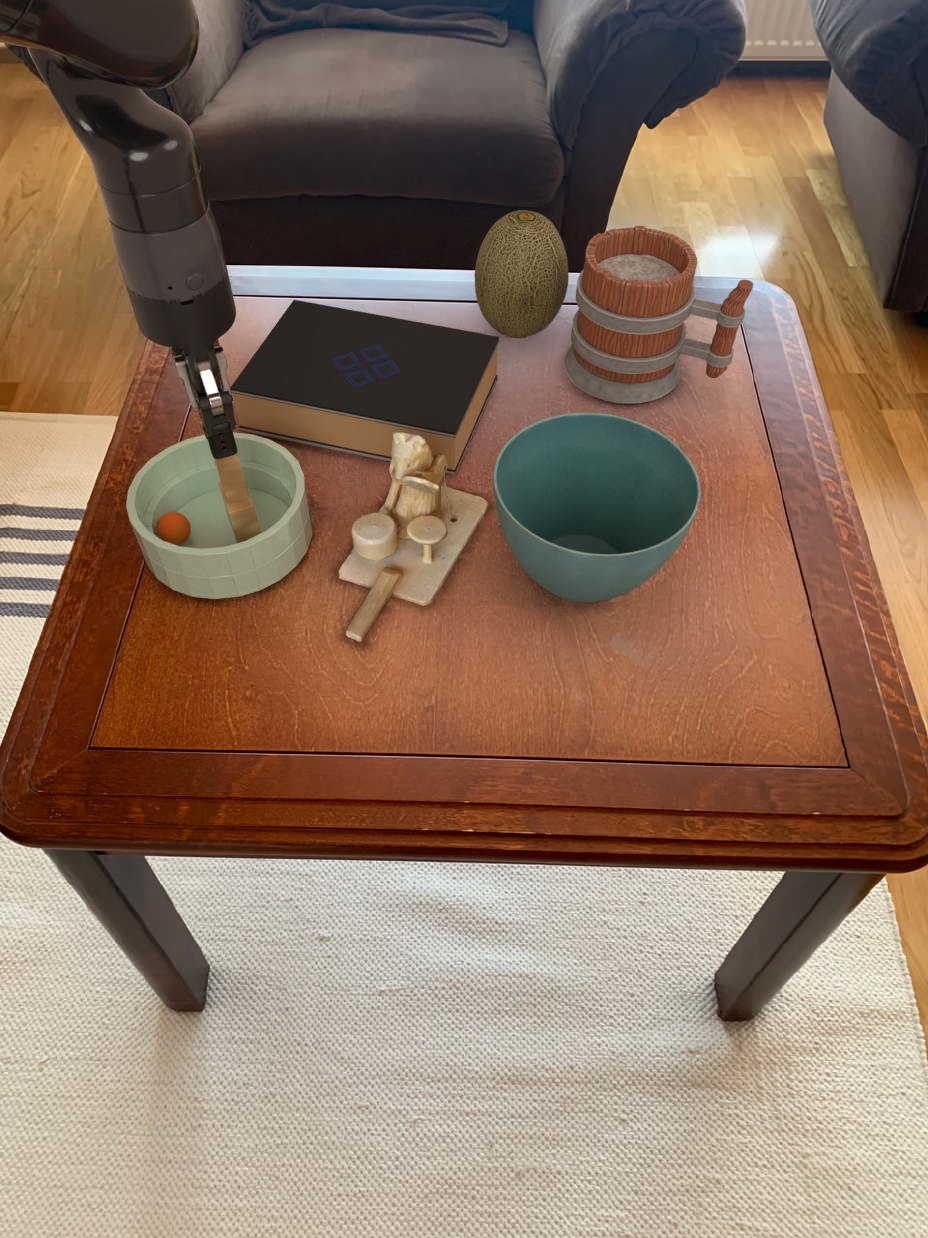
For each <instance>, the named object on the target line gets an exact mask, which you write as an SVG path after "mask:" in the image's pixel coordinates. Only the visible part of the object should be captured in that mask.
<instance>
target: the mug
mask: <svg viewBox="0 0 928 1238" xmlns="http://www.w3.org/2000/svg"><path fill="white" fill-rule="evenodd" d="M697 267H698V256H697V255H696V252H695V251H694V249H693V248H692V247H691V246H690V244H688V243H687V242H686V241H685V240H684V239H683V238H681V237H679V236H678V235H675V234H673V233H670V232H666V231H662V230H659V229H655V228H648V227H646V225H639V224H638V225H636V224H635V225H634V226H633V227H632V226H631V227H621V228H615V227H614V228H611V229H606V230H605V232H603V233H600V232H598V233H597V234H595V235H594V236H592V237H591V239H589V241H588V244H587V247H586V249H585V257H584V265H583V269H582V270H581V271H580V273H579V275H578V276H577V279H576V289H575V302H576V306H577V307H578V309H577V311H576V312H575V313H574V316H573V318H572V324H571V330H570V331H571V332H570V340H571V343H572V345H570V347H569V348H568V350H567V351H566V353H565V356H564V359H563V368H564V370H565V374H566V375H567V377H568V378H569V381H571V382H572V383H573V385H574V386H576V387H577V388H578V389H579V390H581V391H582V392H583V393H585V394H586V395H589V396H590V397H593V398H595V399H597V400H600V401H603V402H605V403H610V404H616V405H640V404H645V403H650V402H652V401H655V400H658V399H660V398H663V397H664V396H666V395H667V394H669V393H671V392H672V391H673V390H674V389H675V388H676V387H677V385H678V384H679V382H680V381H681V377H682V365H681V363H680V360H679V358H680V357H681V355H683V356H687V357H691V358H695V359H699V360H703V361H706V368H705V374H706V377H708V378H711V379H717V378H719V377H720V376H722V375H723V374H724V373H725V372H726V371H727V370H728V367H730V366H731V364H732V362H733V359H734V348H733V346H734V343H735V341H736V337H737V332H738V330H739V328H740V326H741V325H742V324H743V323H744V318H745V316H746V309H745V307H744V306H745V303H746V301H747V299H748V298H749V296H750V294H751V292H752V290H753V289H754V283H753V282H752V281H751V280H749V279H745V278H744V279H740V280H739V281H738V282H737V285H736V287H734V288H733V289H732V290H731V291H730V292H729V293H728V296H727V297H726V298H724V300H723V301H722V303H719V302H714V301H711V300H705V299H700V298H697V297H696V295H697V294H696V293H697V292H696V291H697V290H696V285H695V284H694V281H695V275H696V270H697ZM690 316H695V317H699V318H705V319H707V320H713V321H716V326H715V331H714V334H713V337H712V340H711V343H708V342H704V341H700V340H696V339H692V338H688V337H687V326H686V323H685V322H686V321H687V320H688V319H689V318H690Z"/></svg>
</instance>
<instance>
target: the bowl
mask: <svg viewBox="0 0 928 1238" xmlns="http://www.w3.org/2000/svg"><path fill="white" fill-rule="evenodd" d="M233 434H234V438H235V442H236V446H237V453H238V457H239V461H240V465H241V469H242V473H243V477H244V481H245V483H246V486H247V488H248V491H249V493H250V496H251V499H252V501H253V504H254V506H255V510H256V514H257V518H258V522H259V526H260V530H261V534H259V535H257V536H255V537H253V538H251V539H249V540H247V541H244V542H240V543H237V541H236V538H235V536H234V533H233V530H232V527H231V524H230V522H229V519H228V515H227V512H226V509H225V505H224V502H223V498H222V495H221V491H220V488H219V484H218V482H221V481H220V478H219V474H218V471H217V467H216V464H215V460H214V458H213V456H212V453H211V450H210V447H209V443H208V440H207V439H206V437H205V434H201V435H198V436H194V437H190V438H189V437H188V438H186V439H184V440H182V441H179V442H177V443H174V444H173V445H170V446H168V447H165V449H163V450H162V451H160V452H158V453H157V454H155V455H154V456H153V457H151V458H150V459H149V460H147V462H146V463H145V464H144V465H143V466H142V467H141V468H140V469H139V470H138V471H137V472H136V474H135V475H134V477H133V480H132V481H131V483H130V485H129V487H128V490H127V494H126V495H127V496H126V504H125V508H126V512H127V515H128V519H129V522H130V525H131V527H132V530H133V533H134V536H135V538H136V540H137V542H138V545H139V548H140V550H141V553H142V556H143V558H144V561H145V563H146V566H147V567H148V568H149V570H150V572H152V574H153V575H154V577H155V578H156V580H158V581H159V582H161V583H162V584H164V586H167V587H168V588H169V589H171V590H173V591H175V592H177V593H181V594H183V595H187V596H189V597H193V598H202V599H208V600H209V599H211V600H220V599H230V598H238V597H239V598H240V597H242V596H246V595H249V594H252V593H257V592H259V591H262V590H264V589H266V588H268V587H269V586H272V585H274V584H276V583H278V582H279V581H281V580H282V579H283V578H285V577H286V576H287V575H288V574H290V572H292V571H293V570H294V569H295V568H296V567H298V566H299V564H300V562H301V561H302V559H304V556H305V555H306V554H307V552H308V549H309V547H310V544H311V540H312V537H313V520H312V519H313V518H312V513H311V507H310V501H309V494H308V489H307V484H306V478H305V473H304V471H303V470H302V467H301V465H300V463H299V461H298V459H297V458H296V457H295V456H294V455H293V454H292V453H291V452H290V451H289V449H287V448H286V447H284V446H282V445H281V444H279V443H277V442H275V441H273V440H272V439H269V438H265V437H264V436H263V437H262V436H260V435H257V434H253V433H246V432H243V433H242V432H234V431H233ZM169 512H177V513H180V514H182V515H184V516H185V517H186V518H187V519H188V521H189V523H190V526H191V532H190V535H189V537H188V538H187V539H186V540H185V541H184V542H183V543H180V544H176V545H174V544H171V543H168V542H165V541H163V540H162V539H161V538H160V537H159V535H158V533H157V523H158V521H159V519H160V518H161V517H162V516H163V515H164V514H166V513H169Z"/></svg>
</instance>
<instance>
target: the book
mask: <svg viewBox="0 0 928 1238" xmlns="http://www.w3.org/2000/svg"><path fill="white" fill-rule="evenodd" d="M499 344H500V336H497V335H492V334H487V333H481V332H475V331H471V330H464V329H460V328H454V327H448V326H443V325H442V326H441V325H438V324H437V325H436V324H431V323H427V322H421V321H415V320H409V319H404V318H398V317H392V316H387V315H382V314H376V313H370V312H364V311H359V310H354V309H348V308H343V307H338V306H332V305H326V304H321V303H316V302H310V301H304V300H298V299H293V300H292V302H291V303H290V304H289V306H288V307H287V308H286V310H285V311H284V312H283V314H281V317H280V318H279V319H278V321H276V323H275V325H274V326H273V327H272V328H271V331H270V332H269V333H268V334H267V336H266V337H265V338H264V340H263V341H262V342H261V344H260V345H259V347H258V348H257V350H256V351H255V352H254V353H253V355H252V356H251V358H250V359H249V361H248V362H247V364H246V365H245V366H244V368H243V369H242V371H241V372H240V373H239V375H238V376H237V377H236V379H235V380H234V382H233V383H232V384H231V385H230V389H231V393H232V397H233V401H234V404H235V408H236V413H237V417H238V421H239V425H238V428H239V432H243V433H247V434H253V435H257V436H261V437H262V436H263V437H268V438H272V439H277V440H281V441H287V442H291V443H297V444H300V445H301V444H302V445H304V446H305V445H306V446H310V447H315V448H320V449H325V450H330V451H335V452H338V453H339V452H340V453H344V454H348V455H349V454H350V455H352V456H353V455H354V456H359V457H364V458H369V459H373V460H379V461H383V462H387V463H391V460H392V454H391V452H392V443H393V433H395V432H400V431H402V432H406V433H408V434H415V435H419V436H421V437H423V438H424V439H425V440H426V442H427V444H428V445H429V447H430V449H431V451H432V454H433V455H434V456H436V455H437V454H439V453H442V454H443V455H445V458H446V460H447V463H448V467H447V471H446V474H445V475H449V476H454V477H456V476H457V473H458V471H459V469H460V466H461V464H462V461H463V460H464V457H465V455H466V454H467V451H468V448H469V446H470V444H471V441H472V439H473V437H474V434H475V432H476V430H477V428H478V426H479V423H480V421H481V419H482V416H483V415H484V411H485V410H486V407H487V405H488V404H489V403H488V402H489V400H490V398H491V395H492V394H493V391H494V389H495V386H496V384H497V382H498V380H499V378H498V377H499V375H498V374H497V370H498V346H499Z"/></svg>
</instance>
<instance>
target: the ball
mask: <svg viewBox="0 0 928 1238" xmlns="http://www.w3.org/2000/svg"><path fill="white" fill-rule="evenodd" d="M190 532H191V526H190V523H189V521H188V519H187V518H186V517H185V516H184V515H182V514H180V513H177V512H169V513H166V514H164V515H163V516H162V517H161V518H160V519H159V521H158V523H157V533H158V535H159V537H160V538H161V539H162V540H163V541H165V542H168V543H171V544H174V545H176V544H180V543H183V542H184V541H185V540H186V539H187V538H188V537H189V535H190Z"/></svg>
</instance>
